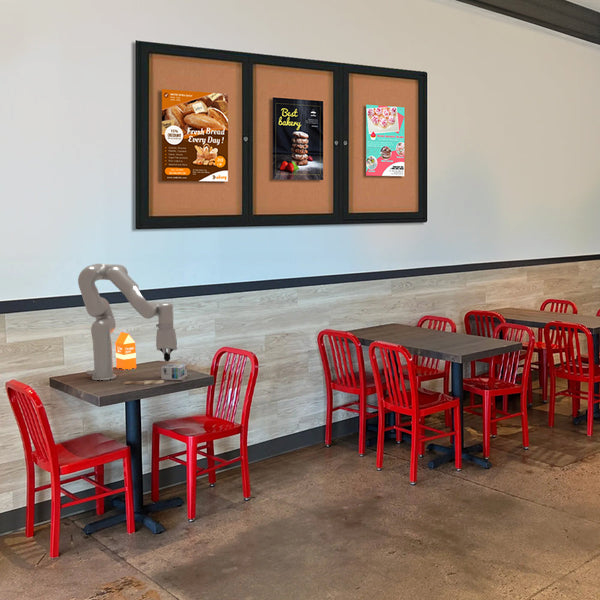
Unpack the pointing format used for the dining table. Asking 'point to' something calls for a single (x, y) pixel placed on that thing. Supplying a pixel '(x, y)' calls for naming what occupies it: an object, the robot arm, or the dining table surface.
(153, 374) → the dining table surface
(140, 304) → the robot arm
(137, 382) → the beech turner
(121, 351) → the orange juice
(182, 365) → the light bulb box
